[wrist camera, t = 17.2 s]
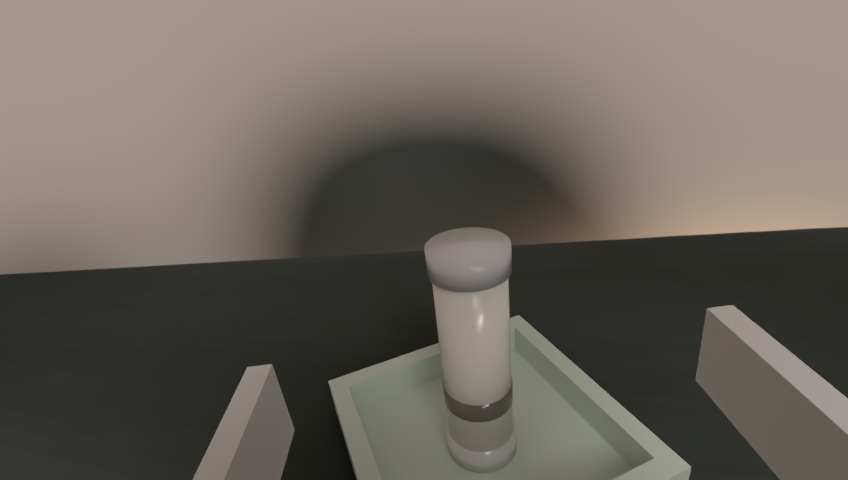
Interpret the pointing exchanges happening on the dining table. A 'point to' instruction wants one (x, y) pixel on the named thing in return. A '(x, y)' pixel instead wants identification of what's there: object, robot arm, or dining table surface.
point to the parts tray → (532, 410)
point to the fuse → (474, 344)
